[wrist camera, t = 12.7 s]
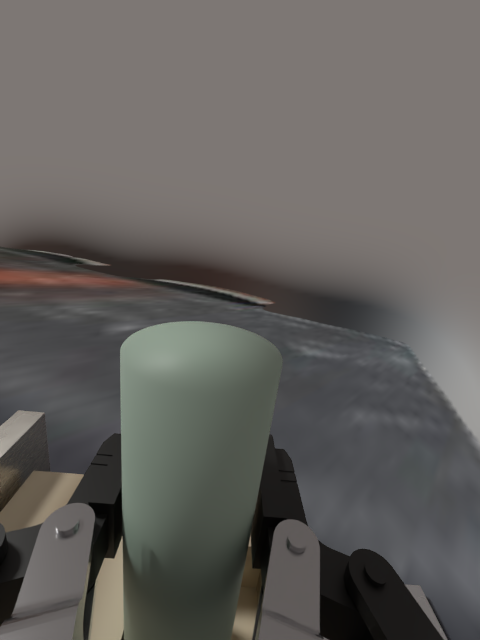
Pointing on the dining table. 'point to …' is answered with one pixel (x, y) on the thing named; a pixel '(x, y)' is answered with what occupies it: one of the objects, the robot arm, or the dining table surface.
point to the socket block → (108, 618)
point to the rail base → (32, 455)
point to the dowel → (191, 473)
